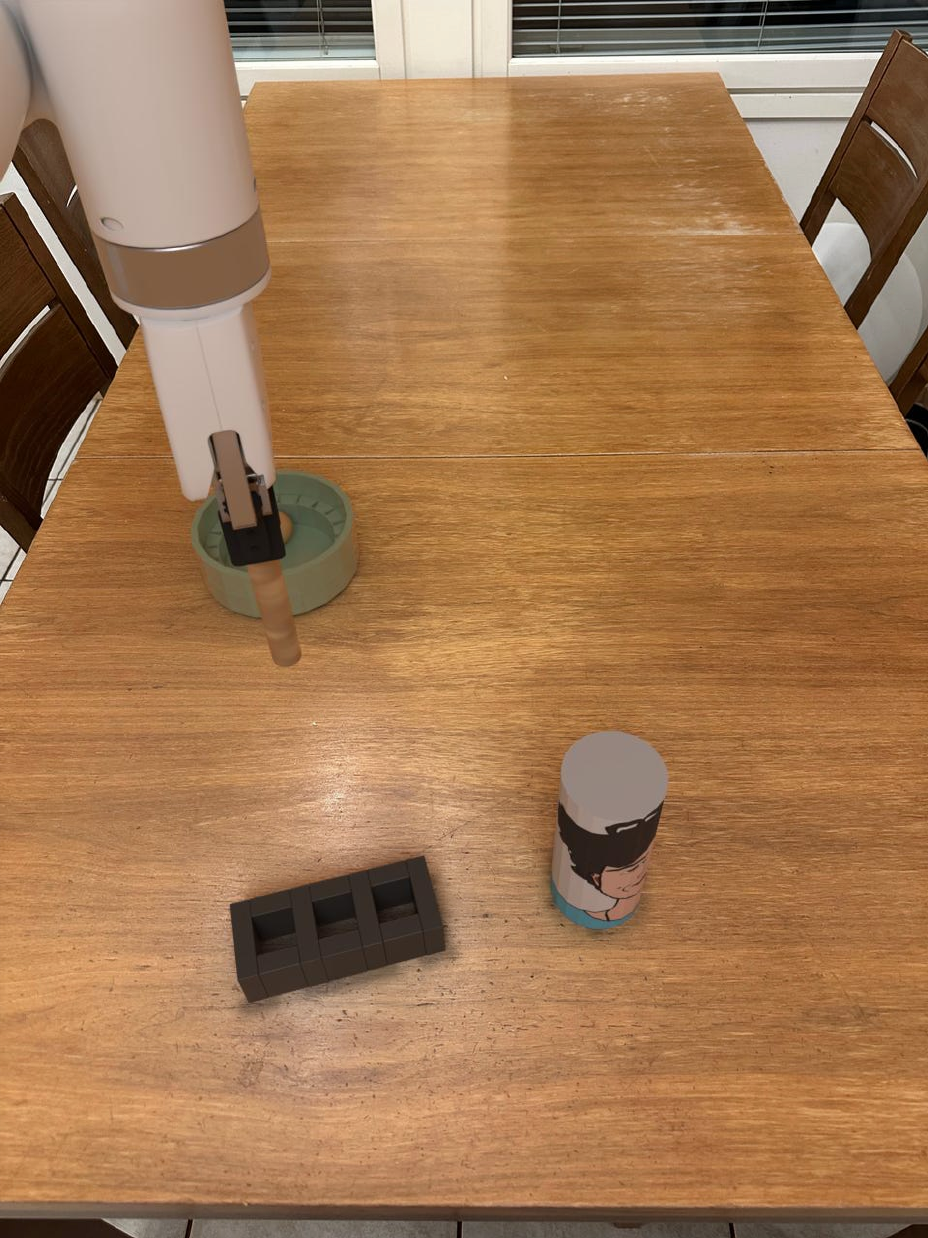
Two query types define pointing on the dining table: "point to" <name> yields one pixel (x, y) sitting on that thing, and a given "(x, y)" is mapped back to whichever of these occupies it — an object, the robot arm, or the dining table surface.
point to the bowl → (286, 546)
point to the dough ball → (286, 526)
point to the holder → (342, 951)
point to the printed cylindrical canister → (605, 827)
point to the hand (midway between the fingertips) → (256, 542)
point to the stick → (275, 610)
